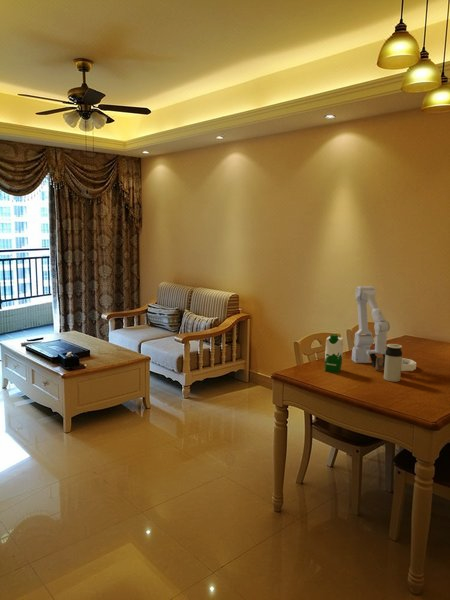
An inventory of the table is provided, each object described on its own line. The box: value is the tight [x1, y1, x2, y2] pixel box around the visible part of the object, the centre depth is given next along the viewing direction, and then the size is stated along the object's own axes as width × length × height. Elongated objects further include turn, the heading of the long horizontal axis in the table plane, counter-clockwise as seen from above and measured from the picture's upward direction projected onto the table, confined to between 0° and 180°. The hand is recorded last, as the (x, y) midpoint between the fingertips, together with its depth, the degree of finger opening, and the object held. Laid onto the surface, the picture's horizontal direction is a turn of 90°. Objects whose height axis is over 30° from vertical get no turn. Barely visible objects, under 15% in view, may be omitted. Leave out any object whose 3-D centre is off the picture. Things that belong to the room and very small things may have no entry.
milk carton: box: [324, 334, 344, 374], centre depth 252 cm, size 9×9×20 cm
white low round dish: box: [401, 357, 417, 372], centre depth 262 cm, size 14×14×4 cm
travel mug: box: [383, 343, 403, 383], centre depth 238 cm, size 8×8×18 cm
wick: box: [375, 356, 383, 372], centre depth 255 cm, size 4×2×7 cm, turn 4°
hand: (379, 367), depth 256 cm, fingers open, 5 cm apart
